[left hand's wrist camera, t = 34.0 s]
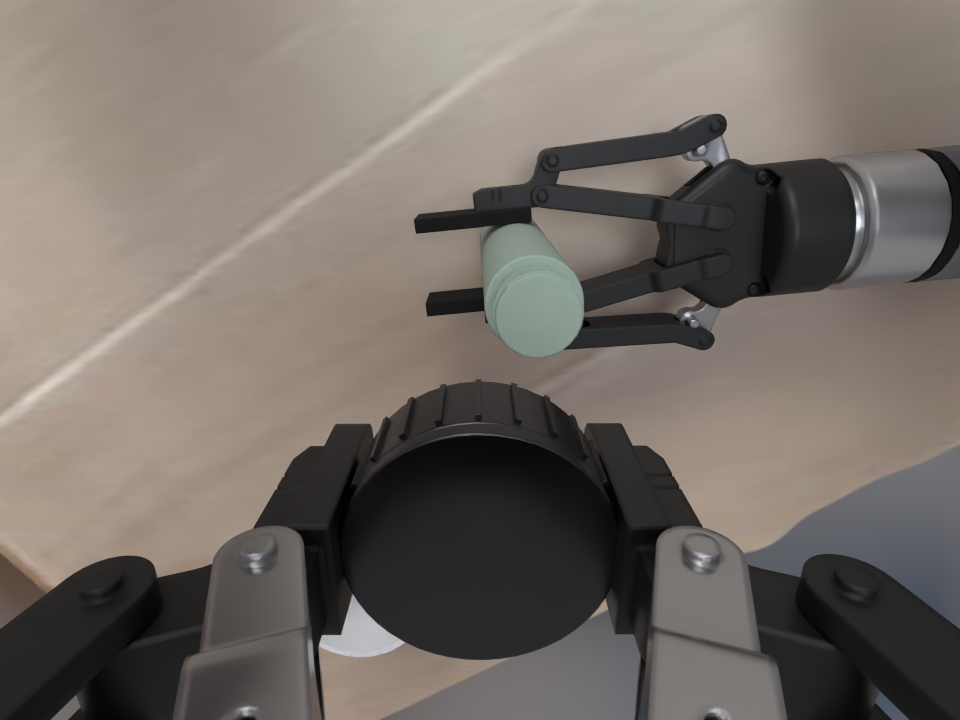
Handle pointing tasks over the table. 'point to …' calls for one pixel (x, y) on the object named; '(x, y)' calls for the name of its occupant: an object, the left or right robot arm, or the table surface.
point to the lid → (479, 523)
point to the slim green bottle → (529, 290)
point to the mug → (360, 635)
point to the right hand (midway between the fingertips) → (424, 264)
